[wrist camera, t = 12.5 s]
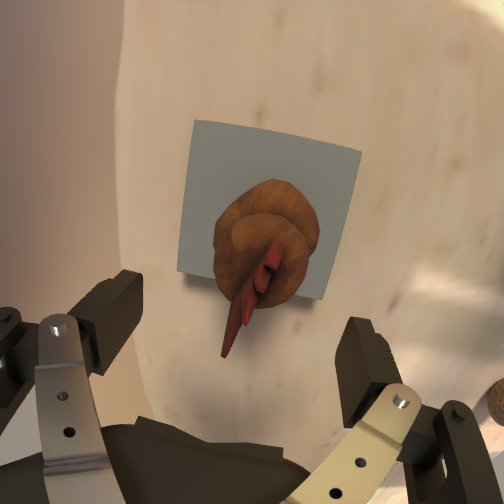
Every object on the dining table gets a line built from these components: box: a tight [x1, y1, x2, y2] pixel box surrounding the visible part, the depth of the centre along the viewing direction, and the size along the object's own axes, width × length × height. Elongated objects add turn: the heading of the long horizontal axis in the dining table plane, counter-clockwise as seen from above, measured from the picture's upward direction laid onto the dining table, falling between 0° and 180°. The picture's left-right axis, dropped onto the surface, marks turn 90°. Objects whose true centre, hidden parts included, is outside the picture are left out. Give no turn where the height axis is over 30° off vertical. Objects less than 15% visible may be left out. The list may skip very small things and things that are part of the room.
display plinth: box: [177, 120, 362, 300], centre depth 26 cm, size 13×13×3 cm
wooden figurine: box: [213, 178, 320, 358], centre depth 18 cm, size 7×6×15 cm
